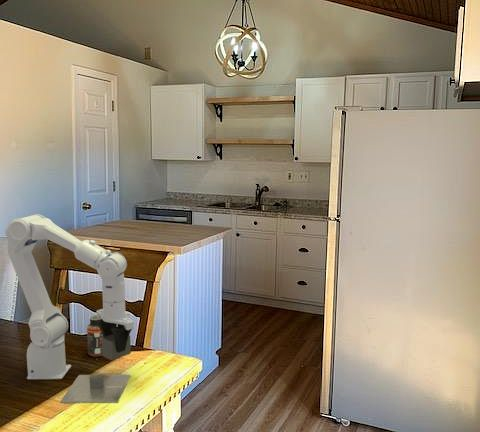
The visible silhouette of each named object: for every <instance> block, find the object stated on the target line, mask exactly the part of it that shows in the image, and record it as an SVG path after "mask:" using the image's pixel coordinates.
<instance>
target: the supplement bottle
mask: <svg viewBox="0 0 480 432" xmlns="http://www.w3.org/2000/svg"><path fill="white" fill-rule="evenodd" d="M101 320H102V318H98V317H97V315H92V316H91V317H90V318H89V324H88V325H87V326H86V335H87V353H88V355H89V356H90V357H95V358H97V357H98V358H99V357H103V356H102V338H103V334H102V332H101V330H100V328H99V327H98V325H97V322H99V321H101Z"/></svg>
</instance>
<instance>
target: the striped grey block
mask: <svg viewBox="0 0 480 432" xmlns="http://www.w3.org/2000/svg"><path fill="white" fill-rule="evenodd" d="M131 353H132V351H131V334H129V337H128V340H127V344H126V348H125V351H122V352H119V353H118V352H117V349H116V343H115V338H114V335H113V334H112V335H109V336H106V337H103V338H102V356H101V357H104V358H106V359H108V360H110V361H114V360H117V359H120V358H122V357H125V356H127V355H130V354H131Z"/></svg>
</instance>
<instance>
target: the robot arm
mask: <svg viewBox="0 0 480 432" xmlns="http://www.w3.org/2000/svg"><path fill="white" fill-rule="evenodd" d="M4 233H5V236H6V238H7V254H8V256H9V257H8V258H9V260H10V261H11V264H12V267H13V269H14V272H15V274H16V277H17V280H18V282H19V285H20V287H21V289H22V292H23V294H24V297H25V300H26V303H27V305H28V307H29V309H30V312H31V315H30V317H29V320H28V326H29V330H30V332H29V338H30V340H31V341H32V342H30V344H29V345H28V347H27V351H26V364H27V377H26V379H27V380H62V379H63V378H64V377H65V375H66V374H67V373H68V372H69V370H70V369H71V367H72V365H71V364H67V362H66V345H65V337H66V336H65V333H67V331H68V329H69V321H68V319H67V318H66V317H65V316H64V314H63V313H62V312H61V309H60V308H59V307H57V306H55V305H54V304H53V303H52V300H51V299H50V298H51V297H50V296H49V293H48V291H47V289H46V286H45V283H44V281H43V278H42V275H41V273H40V271H39V267H38V266H37V263H36V262H37V261H36V260H35V258H34V255H33V249H34V248H35V245H37V242H39V241H41V240H49V241H51V242H52V243H54V244H56V245H59V246H61V247H62V248H65V249H67V250H69V251H71V252H73V254H74V257H75V259H76V260H77V261H80V262H82V263H83V264H85V265H87V266H89V267H91V268H92V269H94V270H96V271H97V274H98V276H99V277H100V278H101V291H102V292H101V294H102V308H101V309H97V310H96V316H97V317H98V318H102V320H101V321H99V322H97V325H98V327H99V328H100V330H101V332H102V334H103V337H106V336H109V335H112V334H113V335H114V338H115V343H116V349H117V352H118V353H119V352H122V351H125V348H126V344H127V340H128V337H129V335H131V332H132V330H133V329H134V328H135V323H134V322H135V321H134V320H132V319H131V318H130V317H129V314H130V313H129V311H126V293H125V291H126V289H125V273H124V272H125V271H126V269H127V266H128V263H127V262H128V261H127V259H126V258H125V256H124V255H123V254H122V253H120V252H116V251H115V252H112V251H111V250H110V249H105V248H103V247H102V246H100V245H99V244H97V243H96V241H95V240H93V239H91V240H89V239H85V240H84V239H83V240H80V239H78V238H77V237H75V236H74V235H73V234H71V233H69V232H68V231H66V230H65V229H63V228H61V227H60V226H58V225H57V224H55V223H54V222H53V221H52V220H51V219H50V218H47V217H45V216H44V215H42V214H39V213H34V214H31V215H29V216H25V217H21V218H19V217H18V218H14V219H12V220H11V221H10V222H9V223H8V226H7V227H6V229H5V231H4Z"/></svg>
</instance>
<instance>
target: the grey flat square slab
mask: <svg viewBox="0 0 480 432" xmlns="http://www.w3.org/2000/svg"><path fill="white" fill-rule="evenodd" d="M130 377H131V374H78V376H77V377H76V378H75V379H74V381H73V383H72V384H71V386H70V387H69V389H68V390H67V391H66V392H65V394H64V395H63V397H61V400H60V401H59V403H60V404H77V403H78V404H88V403H89V404H91V403H94V404H98V403H100V404H101V403H103V404H104V403H106V404H107V403H116V404H117V403H119V401H120V398H121V397H122V394H123V392H124V390H125V388H126V387H127V384H128V382H129V380H130ZM80 402H81V403H80ZM85 402H86V403H85Z"/></svg>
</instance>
